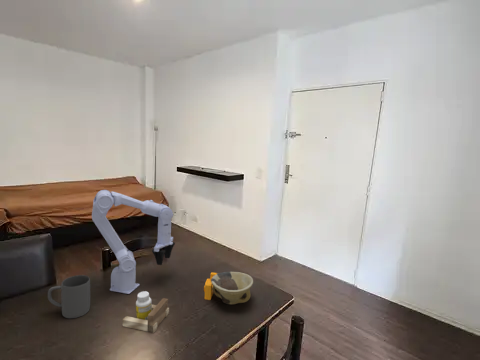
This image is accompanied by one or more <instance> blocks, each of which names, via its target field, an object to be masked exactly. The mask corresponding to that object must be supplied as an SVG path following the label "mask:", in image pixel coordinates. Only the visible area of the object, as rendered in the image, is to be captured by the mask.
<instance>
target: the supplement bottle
mask: <svg viewBox="0 0 480 360" xmlns="http://www.w3.org/2000/svg"><path fill="white" fill-rule="evenodd" d="M152 301H153V300H152V298H151V297H150V293H149V292H148V291H146V290H145V291H144V290H143V291H140V292H138V293H137V300H136V301H135V312H136V314H135V315H136V318H138V319H143V320H148V314H149V313H150V312H151V311H152V305H153V304H152V303H153V302H152Z"/></svg>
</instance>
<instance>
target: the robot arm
mask: <svg viewBox="0 0 480 360" xmlns="http://www.w3.org/2000/svg"><path fill="white" fill-rule="evenodd" d="M113 205H114V207H118V206H120V205H124V206H127V207H133V208H135V209H138V210H139V209H140V211H141V213H143V214H146V215H149V216H152V217H156V218H157V217H158V222H157V242H156V243H155V246H154V247H153V249H152V250H151V251H152V254H153V256H154V258H155V262H156V265H158V266H162V265H163V262H164V261H163V260H164V258H165V259H170V258H171V255H172V251H173V249H174V247H175V244H176V242H174V236H172V235H171V234H172V218H173V216H174V213H173V210H172V208H171V207H169V206H168V205H166V204H164V203H158V202H155V201H154V200H152V199H150V200H149V199H148V200H147V199H146V200H144V201H142V200H139V199H136V198H134V197H131V196H129V195H126V194H123V193H120V192H116V191H110V190H108V189H101V190H99V191H98V192H97V193H96V194H95V196H94V198H93V203H92V210H91V219H92V220H91V221H92V222H93V223H94V224H95V226H96V227H97V229H98V231H99V233H100V234H101V235H102V237H103V238H104V239H105V241H106V243H107V245H108V246H109V247H110V249H111V250H112V252H113V253H114V255H115V257H116V261H118V263H119V264H118V266H115V267H114V268H113V269H112V272H111V274H110V288H109V291H111V292H117V293H122V294H128V295H129V294H131V293H132V292H133V291H135V290H136V289H137V288H138V287H140V283H138V282H137V283H136V276H137V275H136V269H137V268H136V267H137V266H136V265H137V262H136V260H135V257H134V253H133V251H131V250H129V249H128V248H127V246H126V245H124V243H123V241H122V240H121V238H120V236H119V234H118V233H117V232H116V231H115V229H114V227H113V226H112V224H111V222H110V221H109V219H108V218H107V217H106V216H107V214H108V212H109V211H110V209H111V208H112V207H113Z"/></svg>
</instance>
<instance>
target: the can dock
mask: <svg viewBox="0 0 480 360" xmlns="http://www.w3.org/2000/svg"><path fill="white" fill-rule="evenodd" d="M169 315H170V307H169V298H165V297H163V298H161V300H160V301H158V303H157V304H152V311H151V312H150V313H149V314H148V320H143V319H138V318H137V317H134V316H133V317H132V316H127V315H126V316H125V317H123V318H122V327H124V328H130V329H135V330H139V331H144V332H148V333H151V334H152V333H153V334H154V333H156V332H157V330H158V326H159V325H160V324H161V323H162V322H163V320H164V319H165V318H167V317H168V316H169Z"/></svg>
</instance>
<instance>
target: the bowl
mask: <svg viewBox="0 0 480 360" xmlns="http://www.w3.org/2000/svg"><path fill="white" fill-rule="evenodd" d="M211 282H212V285H213V287H212V289H213V292H214V293H213V294H214V295H215V296H216V297H217V298H219V299H221V301H222V303H224V304H226V305H236V304H242V303H247V302H248V301H249V300H250V299H251V296H252V295H251V290H250V289H251V288H252V287H253V284H254V278H253V277H252V276H251V275H249V274H247V273H243V272H239V271H224V272H223V271H222V272H220V273H217V274H216V275H215V276H213V277H212V279H211ZM245 294H246V295H245ZM244 295H245V297H243V296H244Z"/></svg>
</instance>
